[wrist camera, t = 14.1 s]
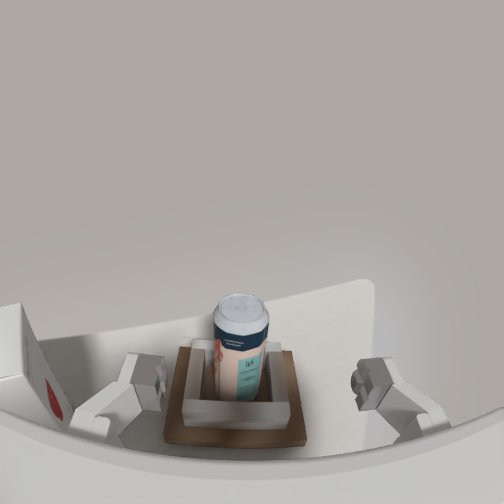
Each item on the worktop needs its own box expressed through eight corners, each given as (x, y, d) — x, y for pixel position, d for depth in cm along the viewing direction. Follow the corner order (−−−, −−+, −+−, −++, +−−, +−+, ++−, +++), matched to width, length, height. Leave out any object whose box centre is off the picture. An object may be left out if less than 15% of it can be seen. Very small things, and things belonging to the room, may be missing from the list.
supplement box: (95, 467, 20) (24, 374, 13) (24, 483, 15) (-67, 395, 8) (72, 402, 27) (22, 298, 20) (11, 418, 22) (-53, 319, 15)
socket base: (165, 442, 25) (158, 421, 23) (180, 354, 36) (177, 329, 34) (304, 445, 26) (314, 425, 24) (289, 358, 37) (295, 333, 35)
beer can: (229, 369, 33) (232, 284, 28) (265, 386, 31) (279, 301, 26) (205, 396, 29) (201, 311, 24) (244, 416, 27) (253, 333, 22)
